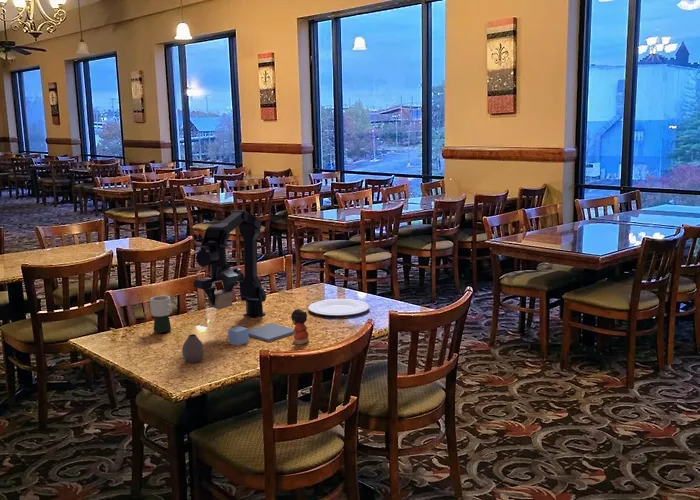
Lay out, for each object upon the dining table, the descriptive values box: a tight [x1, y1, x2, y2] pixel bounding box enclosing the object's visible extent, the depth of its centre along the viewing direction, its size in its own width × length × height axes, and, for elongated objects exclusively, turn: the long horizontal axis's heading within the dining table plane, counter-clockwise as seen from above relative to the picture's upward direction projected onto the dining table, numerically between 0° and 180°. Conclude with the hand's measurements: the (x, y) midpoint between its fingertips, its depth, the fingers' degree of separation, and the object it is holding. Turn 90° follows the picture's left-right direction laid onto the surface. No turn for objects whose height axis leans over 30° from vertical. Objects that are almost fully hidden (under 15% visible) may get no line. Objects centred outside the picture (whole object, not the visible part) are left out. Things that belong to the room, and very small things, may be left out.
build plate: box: [248, 322, 294, 343], centre depth 259 cm, size 14×14×1 cm
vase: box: [181, 333, 205, 364], centre depth 230 cm, size 7×7×9 cm
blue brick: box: [227, 325, 250, 346], centre depth 249 cm, size 5×5×5 cm
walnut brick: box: [207, 289, 233, 310], centre depth 256 cm, size 6×6×5 cm
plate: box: [308, 298, 370, 318], centre depth 288 cm, size 25×25×2 cm
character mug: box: [149, 295, 173, 333], centre depth 262 cm, size 11×7×13 cm, turn 57°
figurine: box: [290, 308, 310, 345], centre depth 247 cm, size 6×6×12 cm
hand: (220, 303), depth 256 cm, fingers closed on walnut brick, 6 cm apart
